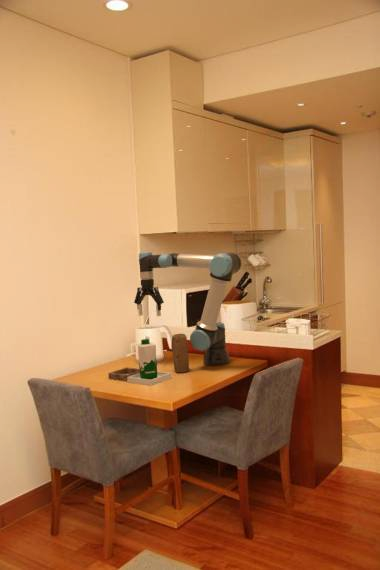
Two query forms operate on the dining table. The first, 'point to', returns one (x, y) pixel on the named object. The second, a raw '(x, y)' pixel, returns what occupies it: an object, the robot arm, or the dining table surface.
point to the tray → (136, 379)
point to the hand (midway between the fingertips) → (149, 315)
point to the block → (180, 353)
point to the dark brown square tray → (123, 373)
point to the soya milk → (147, 360)
